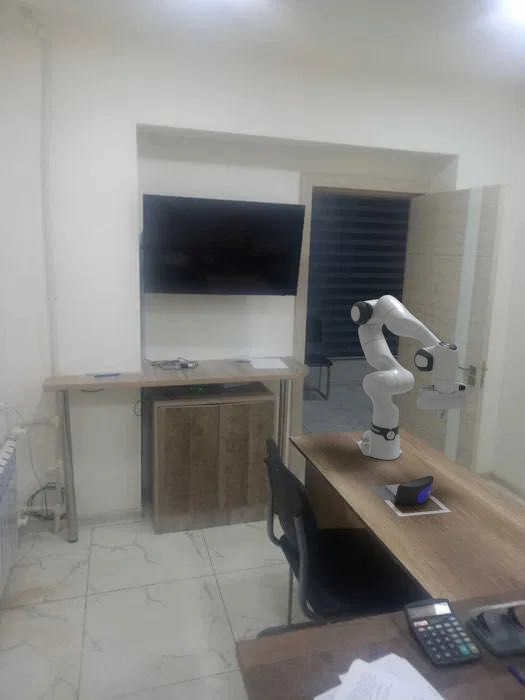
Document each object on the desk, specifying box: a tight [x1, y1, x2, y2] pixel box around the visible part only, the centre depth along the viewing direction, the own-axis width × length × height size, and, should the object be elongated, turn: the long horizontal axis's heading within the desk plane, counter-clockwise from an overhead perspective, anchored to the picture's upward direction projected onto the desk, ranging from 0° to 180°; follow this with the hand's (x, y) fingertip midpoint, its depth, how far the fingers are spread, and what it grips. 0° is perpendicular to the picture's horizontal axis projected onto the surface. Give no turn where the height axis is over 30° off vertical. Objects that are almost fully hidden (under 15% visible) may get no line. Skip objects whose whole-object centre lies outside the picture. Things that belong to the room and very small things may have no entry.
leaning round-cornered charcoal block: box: [393, 475, 435, 507], centre depth 182 cm, size 16×5×9 cm, turn 117°
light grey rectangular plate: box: [384, 483, 401, 497], centre depth 191 cm, size 8×10×1 cm
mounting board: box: [371, 485, 452, 517], centre depth 186 cm, size 22×20×1 cm
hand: (439, 419), depth 196 cm, fingers closed
